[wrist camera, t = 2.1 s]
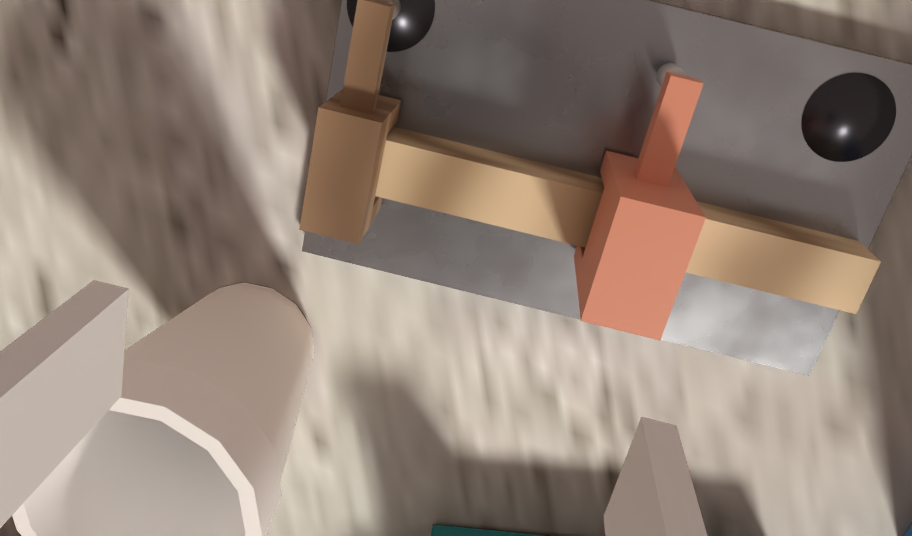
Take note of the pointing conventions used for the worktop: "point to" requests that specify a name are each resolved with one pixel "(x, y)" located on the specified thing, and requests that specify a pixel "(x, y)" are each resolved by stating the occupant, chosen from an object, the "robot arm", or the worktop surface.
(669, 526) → the robot arm
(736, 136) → the bolt plate
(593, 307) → the sliding jaw
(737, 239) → the beam gauge
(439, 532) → the teal l-shaped bracket
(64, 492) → the foam cup
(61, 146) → the worktop surface
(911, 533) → the water bottle
